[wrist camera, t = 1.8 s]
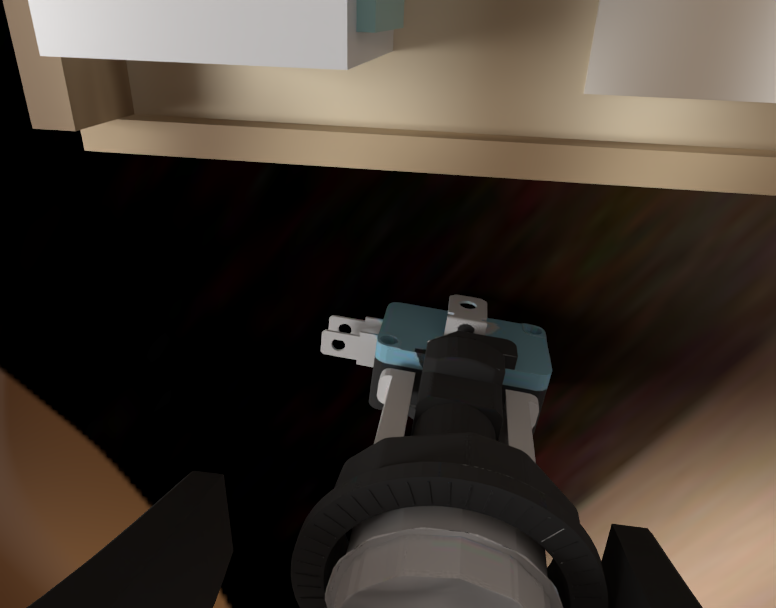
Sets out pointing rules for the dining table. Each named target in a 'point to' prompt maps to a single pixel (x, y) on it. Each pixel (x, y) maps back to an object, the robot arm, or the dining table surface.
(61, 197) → the dining table surface
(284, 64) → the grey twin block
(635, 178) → the beige tray
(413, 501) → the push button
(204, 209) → the dining table surface
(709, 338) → the dining table surface
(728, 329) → the dining table surface
